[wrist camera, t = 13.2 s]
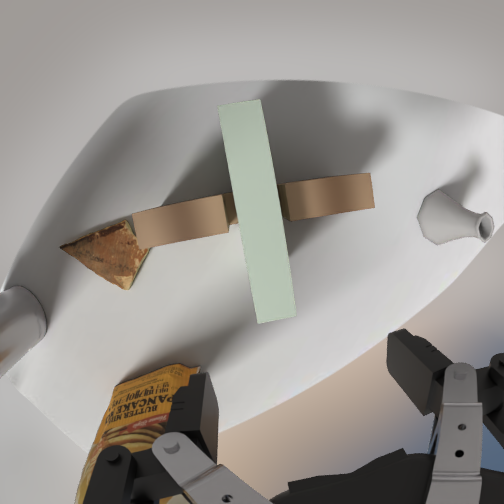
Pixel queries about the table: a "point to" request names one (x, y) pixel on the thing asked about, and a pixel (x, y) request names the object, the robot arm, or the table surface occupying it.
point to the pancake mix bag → (137, 418)
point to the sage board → (258, 209)
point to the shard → (110, 253)
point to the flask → (451, 220)
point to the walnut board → (224, 212)
